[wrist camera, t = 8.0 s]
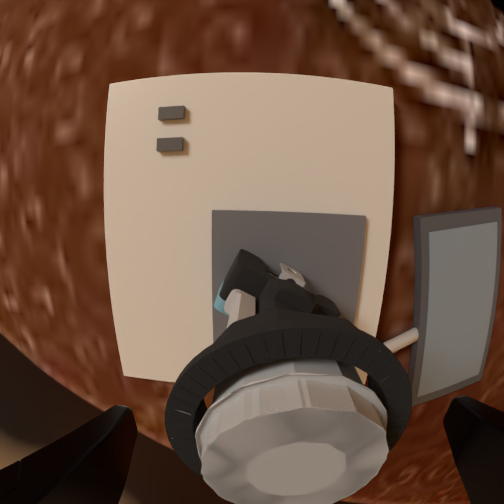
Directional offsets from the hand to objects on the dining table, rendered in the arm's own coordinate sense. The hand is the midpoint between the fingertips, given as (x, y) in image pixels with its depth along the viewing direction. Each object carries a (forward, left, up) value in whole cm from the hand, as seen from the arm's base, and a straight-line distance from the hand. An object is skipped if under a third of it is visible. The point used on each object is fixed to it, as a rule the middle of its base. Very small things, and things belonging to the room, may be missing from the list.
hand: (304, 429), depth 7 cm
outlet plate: (+2, -3, -9) cm, 10 cm away
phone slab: (-11, +1, -9) cm, 15 cm away
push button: (0, -1, -8) cm, 8 cm away
